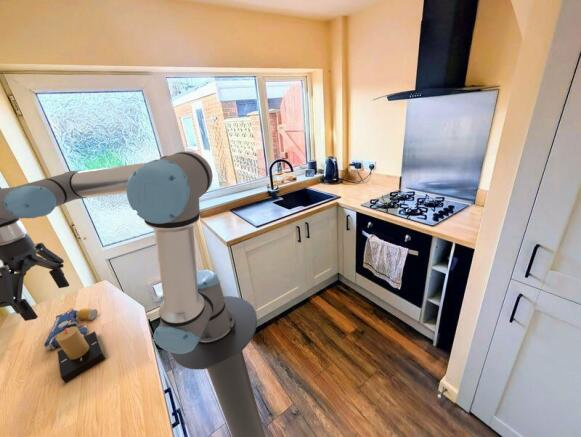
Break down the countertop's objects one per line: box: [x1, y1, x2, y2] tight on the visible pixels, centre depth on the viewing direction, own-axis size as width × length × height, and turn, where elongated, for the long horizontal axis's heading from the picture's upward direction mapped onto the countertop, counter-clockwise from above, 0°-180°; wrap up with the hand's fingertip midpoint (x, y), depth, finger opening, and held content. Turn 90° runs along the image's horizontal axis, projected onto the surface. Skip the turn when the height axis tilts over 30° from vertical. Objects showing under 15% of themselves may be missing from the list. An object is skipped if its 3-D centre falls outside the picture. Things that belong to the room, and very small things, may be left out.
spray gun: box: [44, 308, 99, 351], centre depth 98 cm, size 21×4×15 cm
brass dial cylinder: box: [56, 326, 89, 360], centre depth 82 cm, size 6×6×9 cm
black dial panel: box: [57, 330, 107, 384], centre depth 85 cm, size 14×11×3 cm
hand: (49, 301), depth 73 cm, fingers open, 13 cm apart
